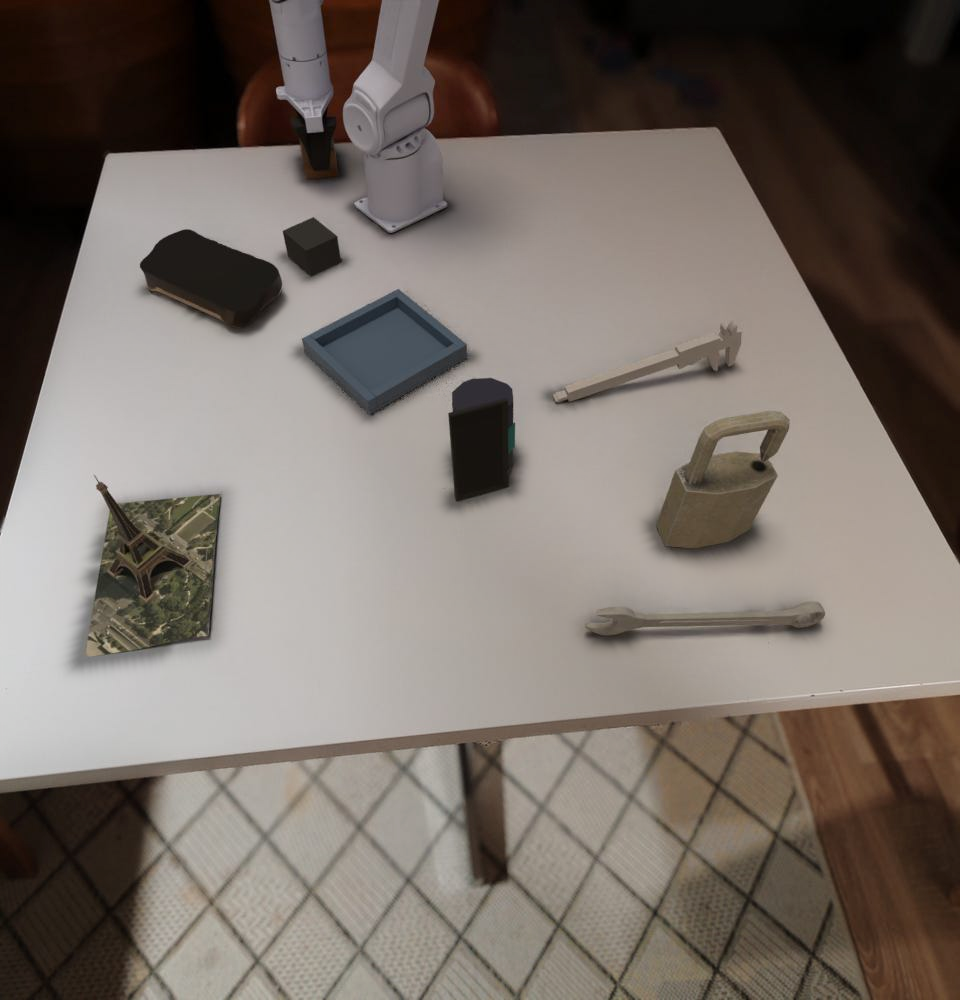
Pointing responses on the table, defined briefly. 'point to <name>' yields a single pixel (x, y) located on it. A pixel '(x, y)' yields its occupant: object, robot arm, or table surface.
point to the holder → (384, 350)
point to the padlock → (721, 484)
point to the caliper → (662, 362)
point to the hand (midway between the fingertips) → (319, 157)
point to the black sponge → (211, 277)
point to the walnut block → (322, 173)
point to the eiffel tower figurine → (154, 573)
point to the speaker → (481, 436)
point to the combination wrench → (705, 618)
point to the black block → (312, 246)
